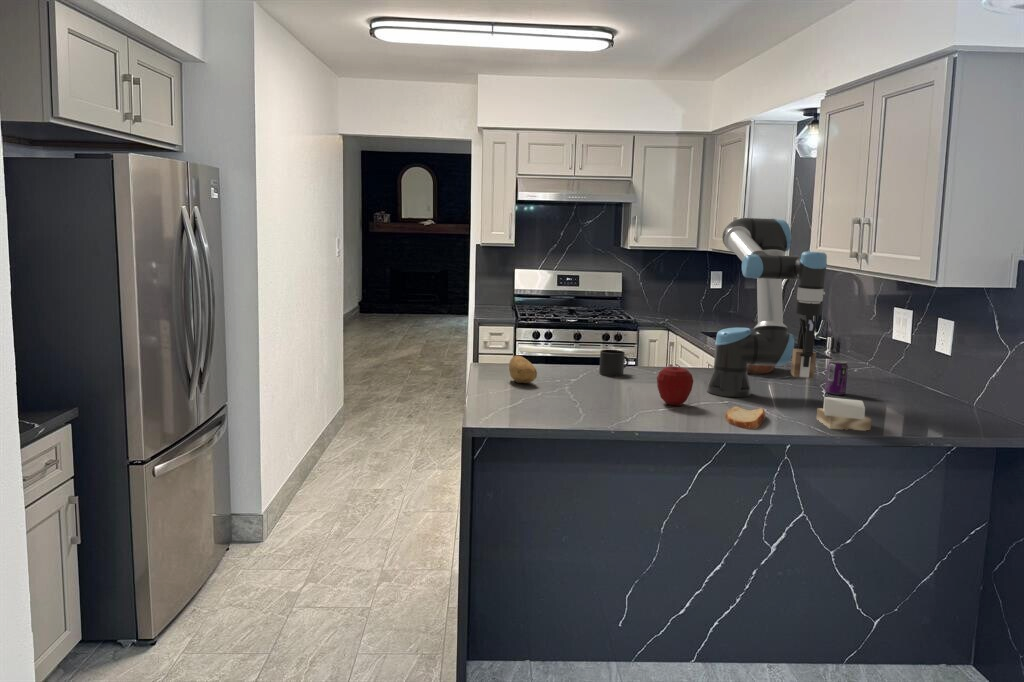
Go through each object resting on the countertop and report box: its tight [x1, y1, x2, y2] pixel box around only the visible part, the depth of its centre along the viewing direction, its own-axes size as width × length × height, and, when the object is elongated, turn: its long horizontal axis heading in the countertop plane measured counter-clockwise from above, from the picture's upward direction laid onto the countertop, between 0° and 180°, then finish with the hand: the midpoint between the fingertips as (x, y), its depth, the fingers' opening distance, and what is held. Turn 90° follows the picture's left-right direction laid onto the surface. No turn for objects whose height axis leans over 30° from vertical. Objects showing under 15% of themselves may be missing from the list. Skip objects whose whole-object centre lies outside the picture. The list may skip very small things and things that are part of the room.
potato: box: [508, 355, 538, 384], centre depth 290 cm, size 9×16×9 cm, turn 17°
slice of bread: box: [724, 405, 766, 430], centre depth 247 cm, size 18×18×4 cm
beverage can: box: [824, 359, 849, 396], centre depth 292 cm, size 7×7×12 cm
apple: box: [656, 365, 694, 407], centre depth 264 cm, size 12×12×13 cm
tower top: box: [823, 396, 866, 419], centre depth 246 cm, size 11×11×4 cm
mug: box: [598, 349, 629, 377], centre depth 314 cm, size 9×12×9 cm
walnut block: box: [790, 348, 817, 379], centre depth 251 cm, size 6×6×8 cm
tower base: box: [815, 407, 872, 431], centre depth 246 cm, size 12×12×4 cm
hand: (802, 374), depth 252 cm, fingers closed on walnut block, 6 cm apart
